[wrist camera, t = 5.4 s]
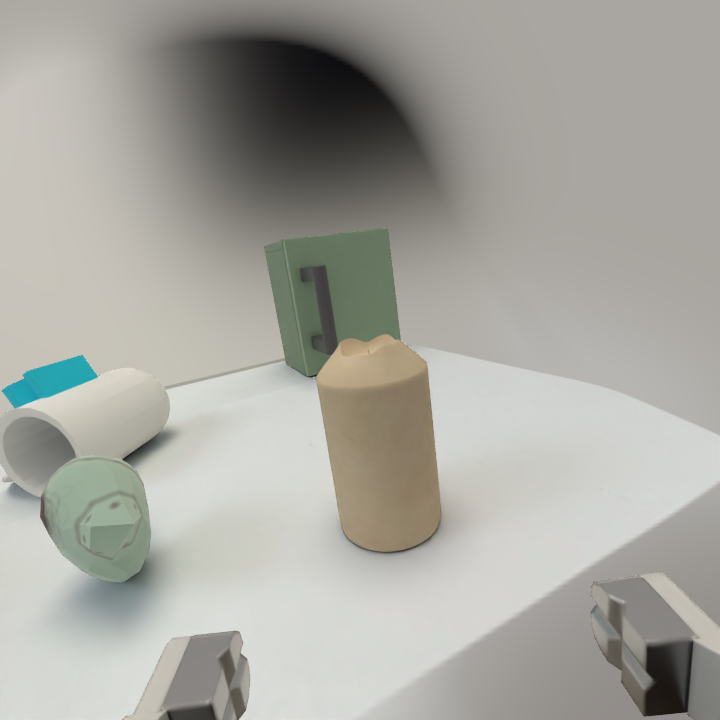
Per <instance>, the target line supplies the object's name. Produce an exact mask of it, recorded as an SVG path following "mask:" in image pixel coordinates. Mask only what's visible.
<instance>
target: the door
mask: <svg viewBox="0 0 720 720" xmlns="http://www.w3.org/2000/svg"><path fill="white" fill-rule="evenodd" d="M282 243H283V248H284V254H285V260H286V265H287V271H288V276H289V282H290V288H291V293H292V299H293V305H294V310H295V316H296V321H297V327H298V333H299V338H300V344H301V350H302V355H303V361H304V366H305V372H306V375H307V376H308V377H309V376H313V375H317V374H318V373H319V372H320V370H321V369H322V368H323V366H324V365H325V363H326V362H327V361H328V360H329V358H330V357H331V356H332V354H333V353H334V352H335V350H336V349H337V347H338V345H339V344H340V342H341V341H343V340H345V339H349V338H353V339H357V340H360V341H362V342H369V341H371V340H373V339H375V338H376V337H378V336H380V335H383V334H388V335H390V336H392V337H393V338H394V339H395V340H397V339H399V340H400V341H401V339H400V330H399V322H398V313H397V304H396V295H395V286H394V278H393V268H392V260H391V251H390V242H389V233H388V228H387V229H378V230H370V231H361V232H352V233H344V234H335V235H326V236H318V237H309V238H300V239H292V240H284V241H282Z"/></svg>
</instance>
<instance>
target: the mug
mask: <svg viewBox="0 0 720 720" xmlns="http://www.w3.org/2000/svg"><path fill="white" fill-rule="evenodd" d="M23 376H24V379H22V380H20V381H18V382H16V383H13V384H11V385H9V386H7V387H6V388H5V389H3V390H2V392H3V393H4V394H5V396H6V397H7V398H8V400H9V401H10V402H11V404H12V405H13V406H14V408H15V409H13V410H11V411H8V412H6V413H5V414H4V415H3V416H2V417H1V418H0V464H1V465H2V467H3V468H4V470H5V472H6V474H5V475H4V477H3V482H12V481H14V482H15V483H16V484H17V485H18V486H20V487H21V488H23V489H24V490H26V491H28V492H29V493H31V494H33V495H36V496H39V497H41V495H42V493H43V491H44V489H45V487H46V485H47V483H48V481H49V479H50V477H51V476H52V475H53V474H54V473H55V472H56V471H57V470H58V469H59V468H60V467H61V466H63V465H64V464H66V463H67V462H69V461H70V460H72V459H74V458H78V457H82V456H86V455H97V456H105V457H112V458H122V459H123V458H125V457H126V456H127V455H129V454H130V453H132V452H133V451H135V450H136V449H137V448H139V447H140V446H142V445H143V444H145V443H146V442H148V441H149V440H150V439H152V438H153V437H155V436H156V435H157V434H158V433H159V432H160V431H161V430H162V429H163V427H164V425H165V424H166V422H167V420H168V416H169V411H170V402H169V398H168V395H167V393H166V390H165V389H164V387H163V386H162V384H161V383H160V382H159V381H158V380H157V379H156V378H155V377H153V376H152V375H150V374H149V373H147V372H144V371H142V370H138V369H134V368H119V369H114V370H111V371H108V372H107V373H104V374H102V375H99V376H97V375H96V374H95V372H94V371H93V369H92V368H91V367H90V365H89V364H88V362H87V361H86V359H85V358H84V357H83V355H81V356H77V357H74V358H71V359H67V360H64V361H60V362H57V363H54V364H50V365H47V366H43V367H40V368H37V369H33V370H30V371H27V372H26V373H24V374H23Z"/></svg>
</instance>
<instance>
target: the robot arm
mask: <svg viewBox="0 0 720 720" xmlns="http://www.w3.org/2000/svg"><path fill="white" fill-rule="evenodd" d="M591 597H592V599H593V600H594V602H595V603H596V606H595V607H594V608H593V610H592V611H591V626H592V630H593V633H594V637H595V639H596V641H597V644H598V646H599V648H600V650H601V651H602V653H603V655H604V656H605V658H606V659H607V661H608V662H610V663H611V664H612V665H614V666H615V667H617V668H618V669H620V670H621V671H622V680H621V683H622V684H623V686H624V687H625V689H626V690H627V692H628V693H629V695H630V696H631V698H632V699H633V701H634V702H635V704H636V705H637V707H638V708H639V710H640V711H641V713H642V714H643V716H655V715H665V714H675V713H685V712H688V716H690V717H691V718H692V719H693V720H720V627H718V626H717V625H716V623H714V622H713V621H712V620H711V619H710V618H709V617H708V616H707V615H706V614H705V613H704V612H703V611H702V610H701V609H700V608H699V607H698V606H697V605H696V604H695V603H694V602H693V601H692V600H691V599H690V598H689V597H688V596H687V595H686V594H685V593H684V592H683V591H682V590H680V588H679V587H678V586H676V585H675V584H674V583H673V582H672V581H671V580H670V579H669V578H668V577H667V576H666V575H664V574H662V573H660V572H657V573H650V574H644V575H637V576H630V577H623V578H616V579H609V580H602V581H596V582H593V584H592V585H591ZM242 645H243V641H242V638H241V634H240V632H239V631H229V632H220V633H210V634H201V635H194V636H186V637H177V638H172V639H171V640H170V641H169V642H168V643H167V645H166V647H165V649H164V651H163V653H162V655H161V657H160V659H159V661H158V663H157V665H156V667H155V670H154V672H153V674H152V676H151V678H150V680H149V682H148V684H147V686H146V688H145V690H144V693H143V695H142V697H141V699H140V701H139V703H138V705H137V707H136V709H135V711H134V713H133V715H130V716H125V717H124V718H123V719H122V720H239V718H240V717H241V716H242V714H243V713H244V712H245V711H246V707H247V702H248V698H249V688H250V671H249V665H248V660H247V658H246V657H244V656H243V655H242V654H241V649H242Z"/></svg>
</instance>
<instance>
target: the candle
mask: <svg viewBox="0 0 720 720" xmlns="http://www.w3.org/2000/svg"><path fill="white" fill-rule="evenodd" d="M316 381H317V387H318V393H319V399H320V405H321V410H322V416H323V422H324V428H325V434H326V440H327V446H328V452H329V458H330V463H331V469H332V475H333V481H334V487H335V493H336V499H337V505H338V511H339V516H340V521H341V525H342V528H343V530H344V533H345V534H346V536H347V537H348V538H349V539H350V540H351V541H352V542H353V543H355V544H356V545H358V546H360V547H363V548H365V549H369V550H373V551H382V552H391V551H400V550H404V549H408V548H411V547H414V546H416V545H418V544H420V543H422V542H424V541H425V540H427V539H428V538H429V537H430V536H431V535H432V534H433V533H434V532H435V531H436V529H437V527H438V526H439V523H440V517H441V504H440V492H439V482H438V471H437V461H436V451H435V440H434V430H433V420H432V409H431V399H430V388H429V378H428V368H427V363H426V361H425V360H423V359H422V358H421V357H420V356H419V355H418V354H416V353H415V352H414V351H413V350H411V349H410V348H409V347H407V346H406V345H405V344H403V343H402V342H401V341H400V340H399V339H397V340H395V339H394V338H393V337H392V336H390V335H388V334H383V335H380V336H378V337H376V338H375V339H373V340H371V341H369V342H362V341H360V340H357V339H353V338H349V339H345V340H343V341H341V342H340V344H339V345H338V347H337V349H336V350H335V352H334V353H333V354H332V356H331V357H330V358H329V360H328V361H327V362H326V363H325V365H324V366H323V368H322V369H321V370H320V372H319V373H318V375H317V377H316Z"/></svg>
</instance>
